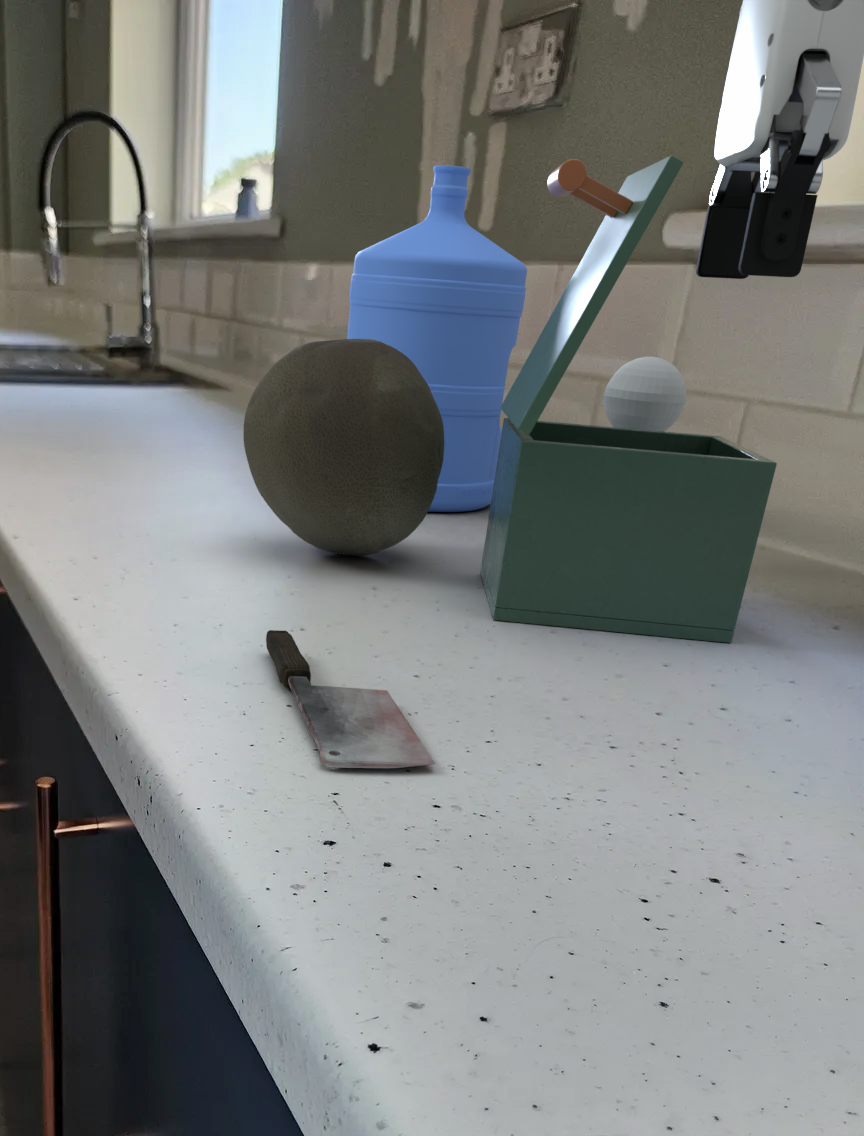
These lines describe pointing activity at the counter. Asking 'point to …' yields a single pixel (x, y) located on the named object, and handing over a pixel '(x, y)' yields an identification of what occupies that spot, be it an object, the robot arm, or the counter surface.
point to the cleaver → (347, 716)
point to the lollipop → (645, 395)
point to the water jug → (447, 328)
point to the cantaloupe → (345, 444)
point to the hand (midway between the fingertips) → (743, 276)
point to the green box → (623, 529)
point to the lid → (587, 276)
